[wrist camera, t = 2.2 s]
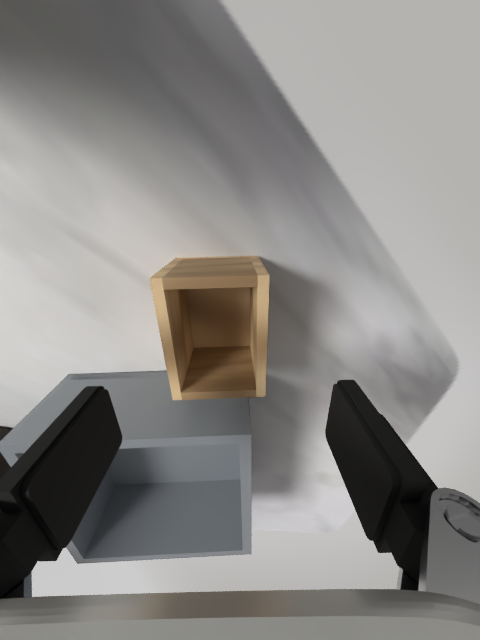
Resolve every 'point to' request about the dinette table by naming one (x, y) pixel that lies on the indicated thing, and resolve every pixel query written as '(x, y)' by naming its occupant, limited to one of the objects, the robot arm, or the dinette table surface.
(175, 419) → the grey crate
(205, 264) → the wooden crate
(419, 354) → the dinette table surface
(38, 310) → the dinette table surface
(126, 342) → the dinette table surface
